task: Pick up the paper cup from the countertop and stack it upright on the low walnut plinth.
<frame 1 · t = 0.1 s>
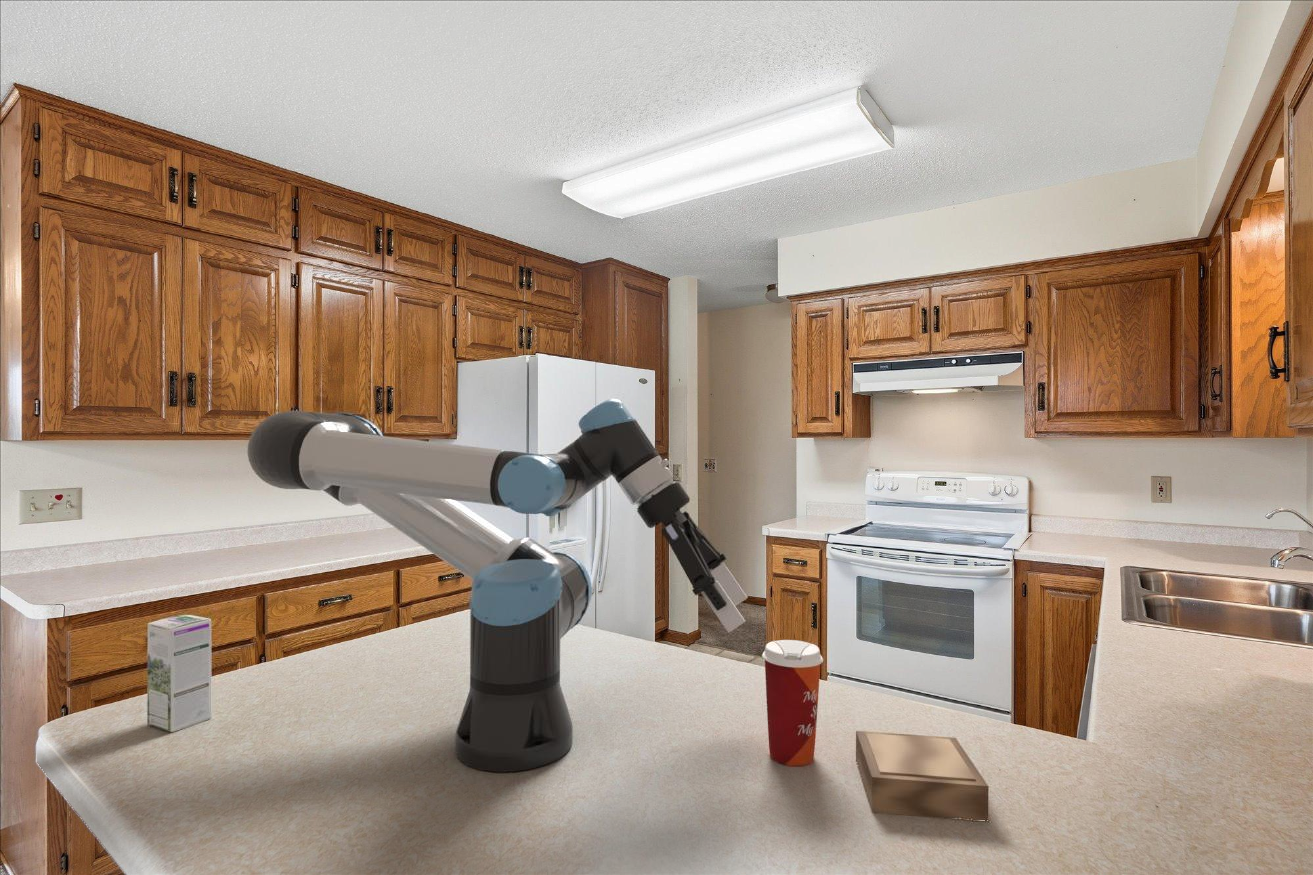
hand: (738, 613, 98), 15 cm above the countertop, tool tilted 35°, fingers open, 13 cm apart
syrup box: (179, 723, 95), on the countertop
paper cup: (791, 757, 87), on the countertop
plinth: (916, 788, 79), on the countertop
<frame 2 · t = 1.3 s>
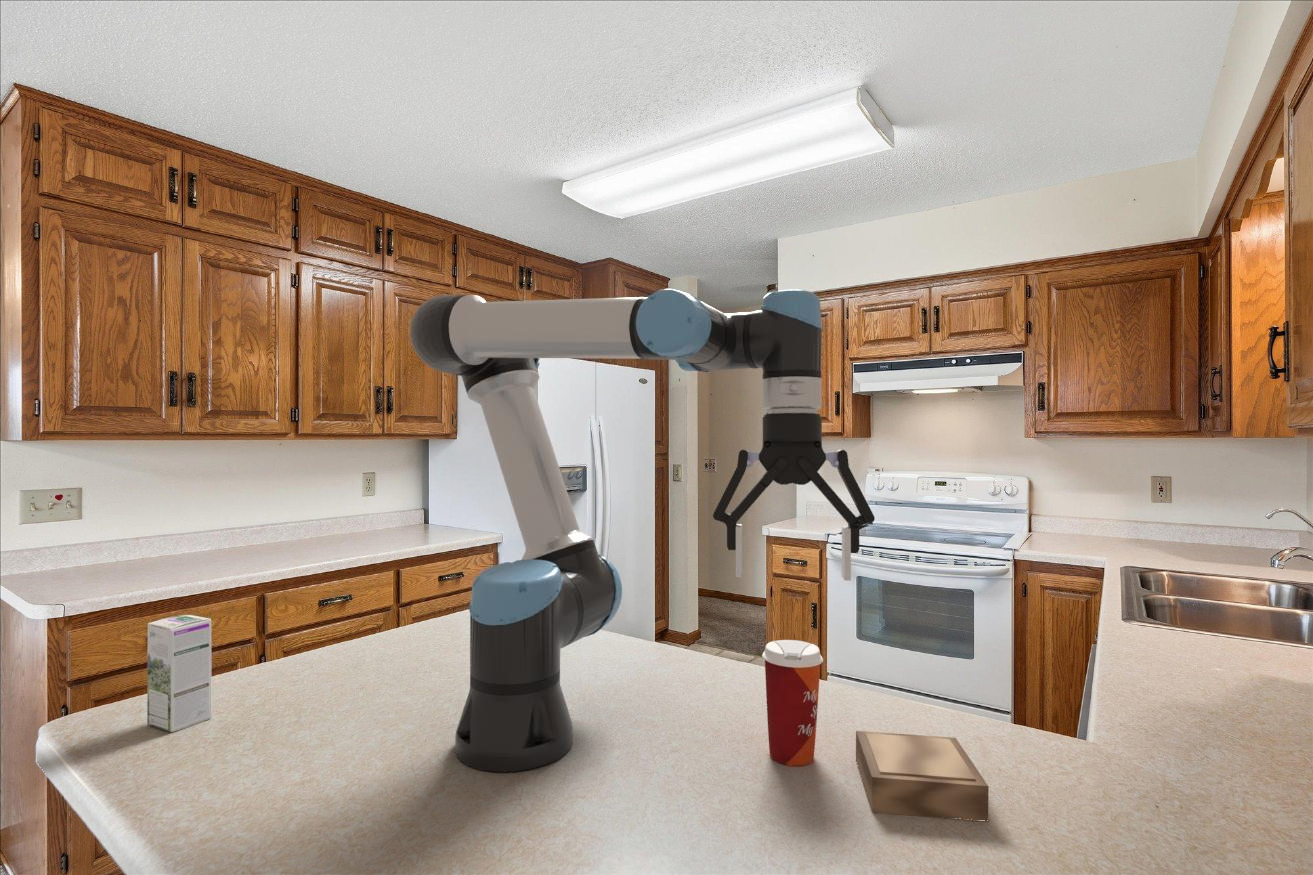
hand: (791, 577, 87), 23 cm above the countertop, tool pointing down, fingers open, 13 cm apart
nothing on the countertop moved.
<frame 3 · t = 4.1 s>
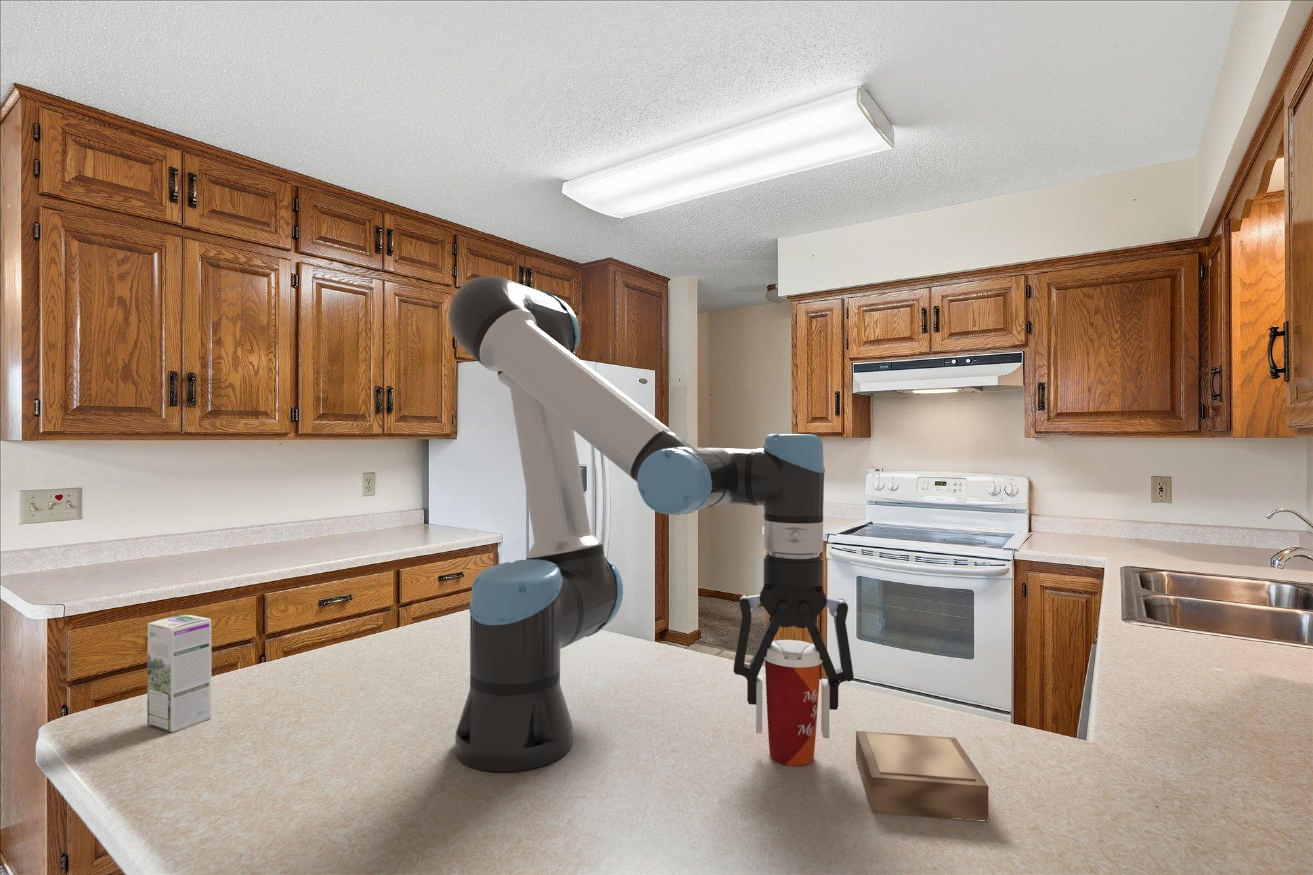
hand: (791, 731, 87), 3 cm above the countertop, tool pointing down, fingers closed on paper cup, 8 cm apart
paper cup: (791, 757, 87), on the countertop, touching gripper
everything else where it was.
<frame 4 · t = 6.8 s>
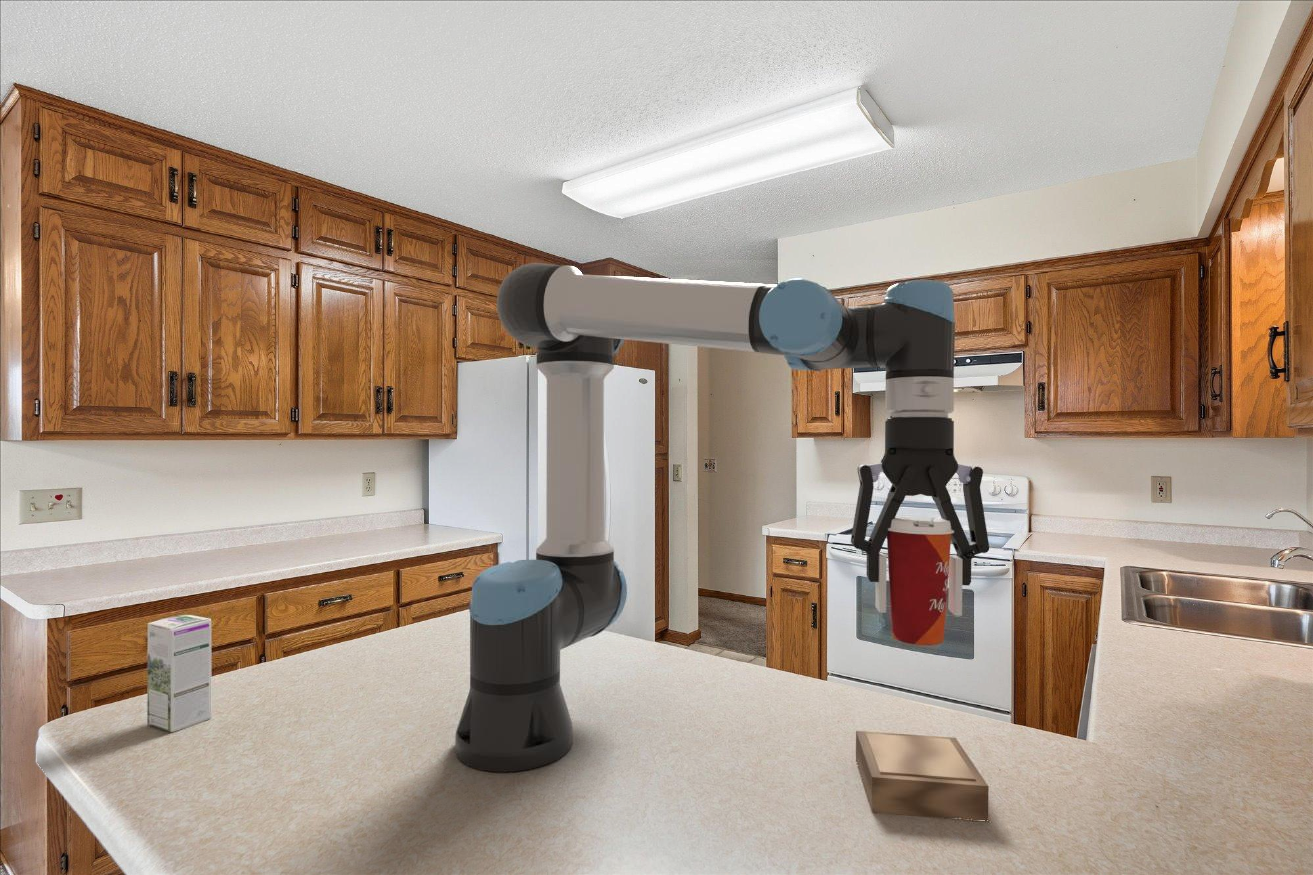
hand: (917, 611, 79), 21 cm above the countertop, tool pointing down, fingers closed on paper cup, 8 cm apart
paper cup: (917, 639, 79), point 17 cm above the countertop, touching gripper
everything else where it was.
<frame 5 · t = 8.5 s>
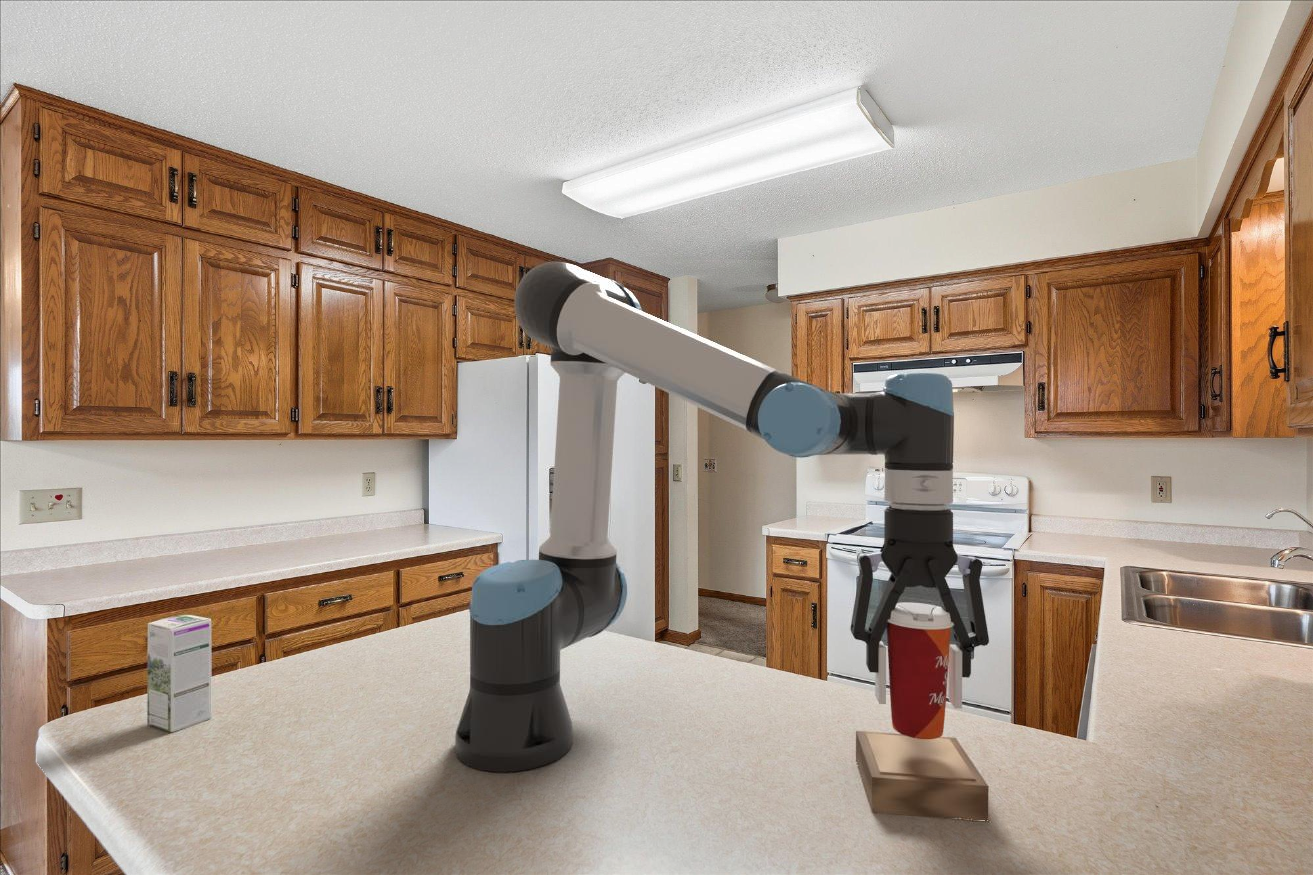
hand: (917, 701, 79), 10 cm above the countertop, tool pointing down, fingers closed on paper cup, 8 cm apart
paper cup: (917, 730, 79), point 7 cm above the countertop, touching gripper
everything else where it was.
when the fingers open (9 cm above the countertop, at t = 9.7 s): paper cup drops 1 cm, resting on plinth.
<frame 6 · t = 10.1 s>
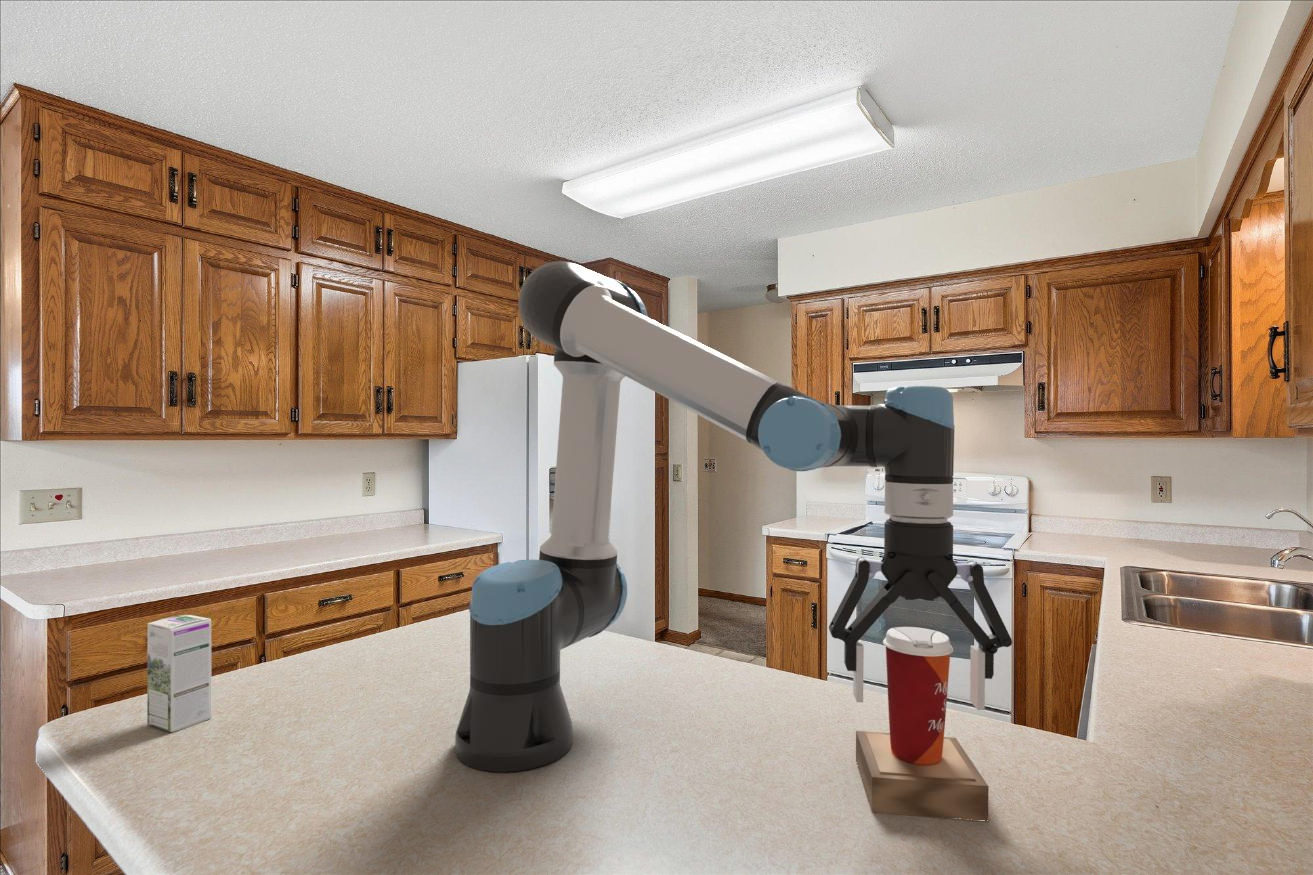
hand: (916, 702, 79), 10 cm above the countertop, tool pointing down, fingers open, 13 cm apart
paper cup: (915, 755, 79), point 4 cm above the countertop, touching plinth
everything else where it was.
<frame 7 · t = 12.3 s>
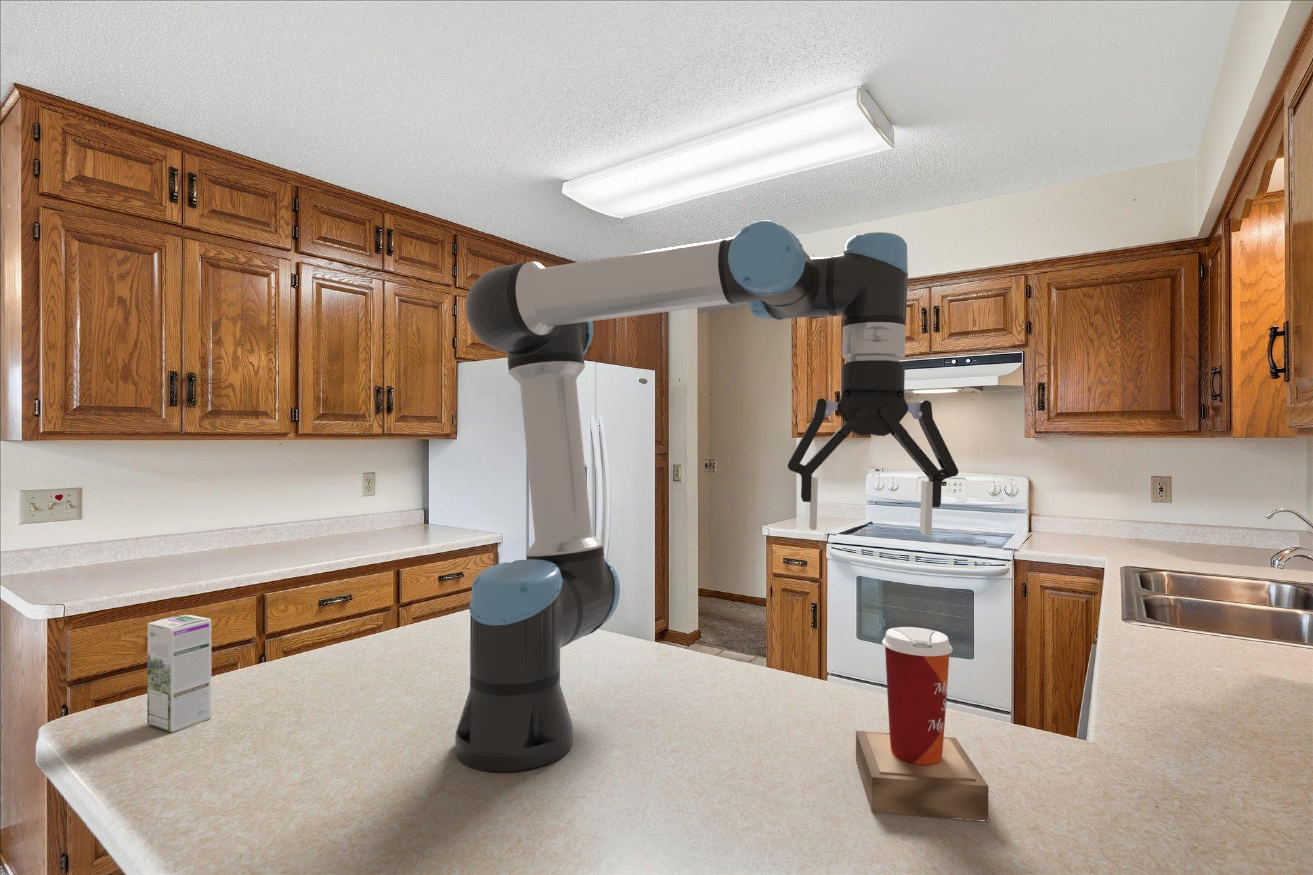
hand: (868, 531, 85), 29 cm above the countertop, tool pointing down, fingers open, 13 cm apart
nothing on the countertop moved.
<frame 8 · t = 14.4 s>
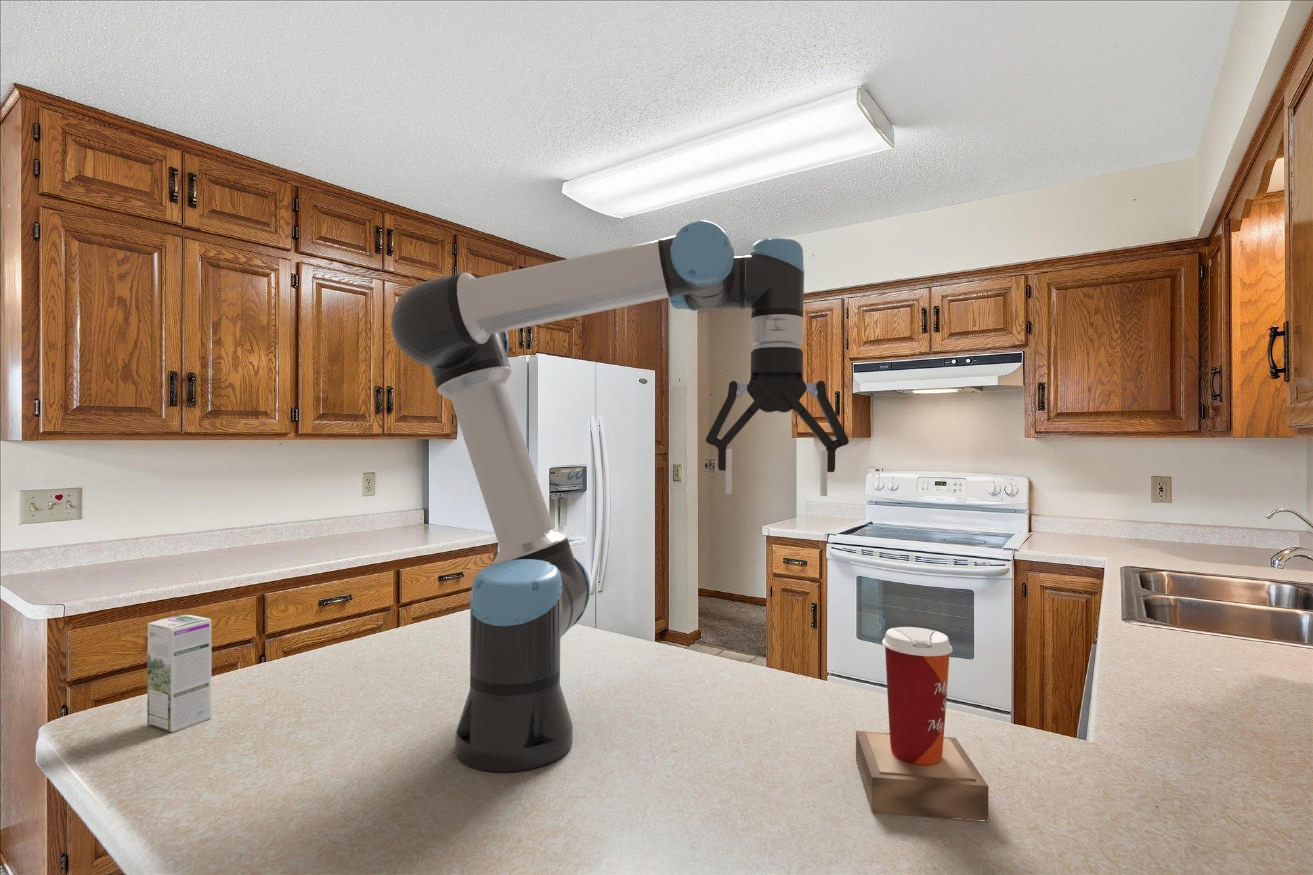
hand: (775, 494, 98), 33 cm above the countertop, tool pointing down, fingers open, 13 cm apart
nothing on the countertop moved.
at the end: paper cup inside the target area on the plinth (0.1 cm from its centre), point 3.8 cm above the plinth's base; paper cup tilted 0°; the gripper is holding nothing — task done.
